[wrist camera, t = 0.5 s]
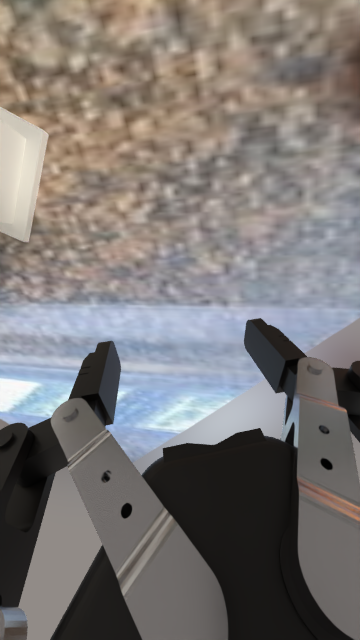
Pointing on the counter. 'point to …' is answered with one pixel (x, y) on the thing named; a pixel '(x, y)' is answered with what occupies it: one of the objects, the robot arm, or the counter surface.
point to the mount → (19, 173)
